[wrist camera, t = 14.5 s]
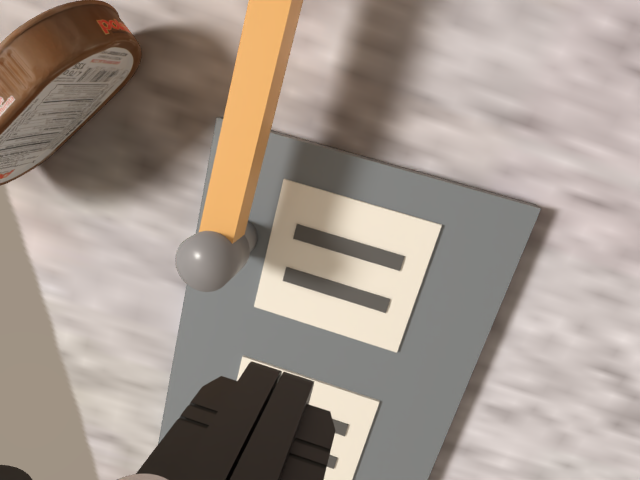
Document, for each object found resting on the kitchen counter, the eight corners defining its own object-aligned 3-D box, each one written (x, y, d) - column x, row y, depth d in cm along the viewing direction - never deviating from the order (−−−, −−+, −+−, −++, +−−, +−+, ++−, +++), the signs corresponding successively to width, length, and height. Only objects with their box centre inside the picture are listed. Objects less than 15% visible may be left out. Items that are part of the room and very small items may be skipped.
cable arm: (271, -89, 22) (251, -118, 19) (333, -72, 22) (323, -99, 19) (194, 263, 28) (170, 280, 25) (242, 280, 28) (224, 299, 25)
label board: (535, 204, 28) (553, 218, 24) (403, 522, 36) (403, 566, 32) (223, 117, 30) (200, 117, 26) (165, 437, 37) (141, 470, 34)
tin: (141, 11, 29) (39, -27, 21) (172, 54, 29) (84, 33, 21) (0, 154, 33) (-128, 168, 25) (29, 190, 34) (-88, 215, 26)
